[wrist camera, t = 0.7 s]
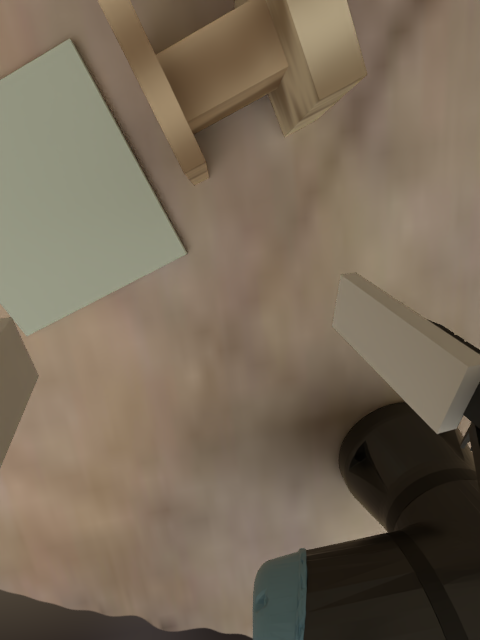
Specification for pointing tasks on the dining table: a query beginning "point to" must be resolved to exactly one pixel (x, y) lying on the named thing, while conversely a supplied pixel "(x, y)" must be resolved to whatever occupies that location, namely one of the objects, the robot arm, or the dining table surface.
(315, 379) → the dining table surface
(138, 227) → the mat
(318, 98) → the stool
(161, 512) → the dining table surface
